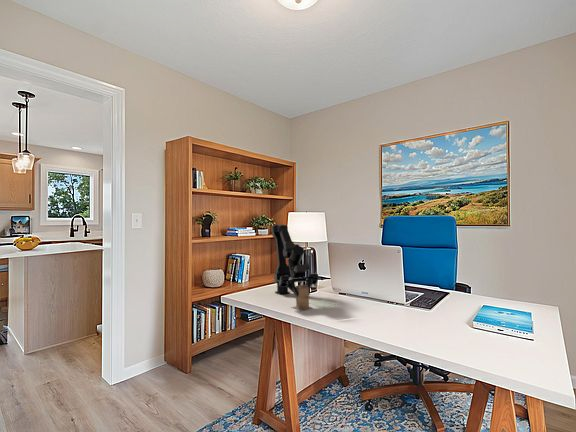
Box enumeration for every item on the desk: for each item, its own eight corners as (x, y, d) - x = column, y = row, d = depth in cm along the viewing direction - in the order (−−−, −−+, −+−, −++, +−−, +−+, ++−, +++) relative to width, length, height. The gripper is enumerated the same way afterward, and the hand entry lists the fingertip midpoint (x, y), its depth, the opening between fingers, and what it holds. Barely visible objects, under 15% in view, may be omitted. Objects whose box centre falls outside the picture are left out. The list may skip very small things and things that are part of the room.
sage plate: (308, 303, 153) (308, 302, 153) (324, 300, 158) (324, 299, 158) (321, 308, 144) (321, 307, 144) (337, 305, 150) (337, 304, 150)
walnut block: (296, 307, 146) (295, 285, 146) (305, 306, 148) (305, 284, 148) (299, 309, 142) (299, 287, 142) (308, 308, 143) (308, 286, 143)
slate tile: (290, 308, 146) (290, 307, 146) (304, 305, 150) (304, 304, 150) (300, 312, 139) (300, 311, 139) (314, 309, 144) (314, 308, 144)
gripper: (280, 258, 146) (287, 287, 135) (317, 256, 151) (326, 283, 141) (276, 272, 153) (282, 300, 143) (311, 270, 159) (320, 297, 148)
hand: (303, 295), depth 144 cm, fingers open, 5 cm apart
